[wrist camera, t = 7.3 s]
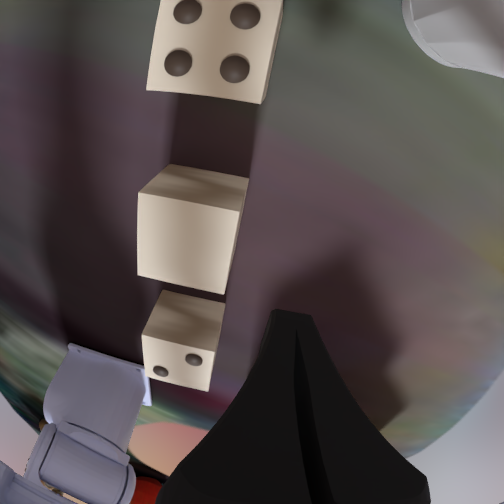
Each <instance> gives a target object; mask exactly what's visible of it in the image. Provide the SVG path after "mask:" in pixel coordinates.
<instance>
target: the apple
mask: <svg viewBox="0 0 504 504" xmlns="http://www.w3.org/2000/svg"><path fill="white" fill-rule="evenodd" d="M161 488H162V485H161V483H160V482H159V481H158V480H156V479H153V478H149V477H142V476H141V477H136V486H135V490H134V494H133V497H132V499H131V501H130V503H129V504H155V501H156V497H157V495H158V493H159V491H160V489H161Z"/></svg>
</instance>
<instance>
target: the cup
mask: <svg viewBox="0 0 504 504" xmlns="http://www.w3.org/2000/svg"><path fill="white" fill-rule="evenodd" d="M402 13H403V18H404V21H405V24H406V27H407V29H408V31H409V33H410V35H411V36H412V38H413V40H414V41H415V42H416V44H417V45H418V46H419V47H420V48H421V49H422V50H423V51H424V52H425V53H426V54H427V55H428V56H429V57H431V58H432V59H434V60H435V61H437V62H439V63H441V64H443V65H446V66H449V67H454V68H466V69H470V70H475V71H479V72H483V73H487V74H491V75H494V76H498V77H502V78H504V0H402Z"/></svg>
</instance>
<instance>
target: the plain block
mask: <svg viewBox="0 0 504 504" xmlns="http://www.w3.org/2000/svg"><path fill="white" fill-rule="evenodd" d="M248 182H249V178H245V177H240V176H235V175H229V174H224V173H219V172H214V171H208V170H203V169H197V168H192V167H186V166H180V165H174V164H169V165H168V166H167V167H165V168H164V169H163V170H162V171H161V172H160V173H159V174H158V175H157V176H155V177H154V178H153V179H152V180H151V181H150V182H149V183H148V184H147V185H146V186H145V187H144V188H142V189H141V190H140V191H139V192H138V219H137V267H138V275H140V276H144V277H148V278H152V279H156V280H161V281H165V282H169V283H173V284H178V285H182V286H187V287H191V288H196V289H200V290H205V291H209V292H214V293H219V294H223V295H224V293H225V289H226V285H227V281H228V277H229V272H230V268H231V264H232V260H233V256H234V252H235V248H236V243H237V238H238V232H239V227H240V222H241V217H242V212H243V207H244V202H245V197H246V192H247V187H248Z"/></svg>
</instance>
